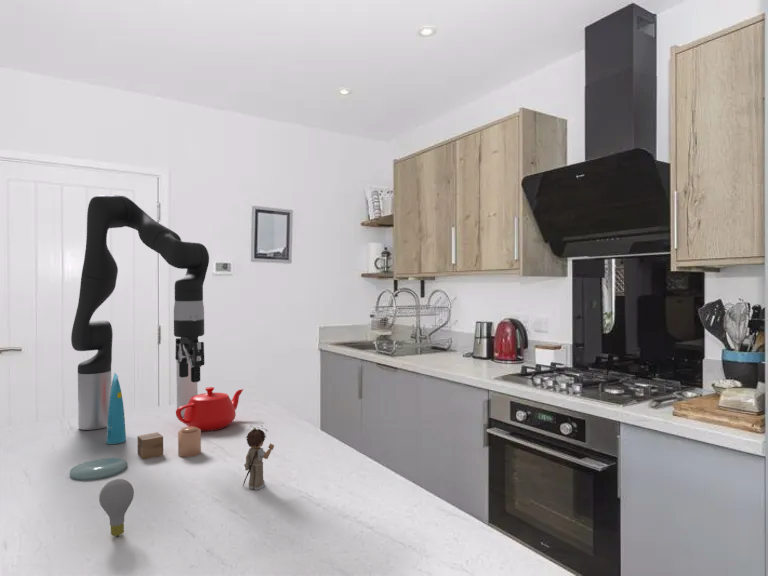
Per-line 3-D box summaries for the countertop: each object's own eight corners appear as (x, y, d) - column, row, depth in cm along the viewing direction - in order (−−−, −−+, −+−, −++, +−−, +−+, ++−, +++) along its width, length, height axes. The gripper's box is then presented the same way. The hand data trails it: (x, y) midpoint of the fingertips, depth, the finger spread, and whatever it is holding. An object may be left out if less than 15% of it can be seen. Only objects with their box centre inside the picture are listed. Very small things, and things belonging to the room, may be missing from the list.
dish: (65, 469, 124) (65, 465, 124) (120, 458, 132) (119, 454, 132) (75, 484, 115) (75, 480, 115) (133, 471, 123) (133, 467, 123)
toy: (275, 483, 115) (275, 417, 114) (262, 492, 109) (261, 423, 109) (251, 480, 117) (251, 414, 117) (237, 489, 111) (236, 421, 111)
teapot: (192, 440, 147) (192, 397, 147) (161, 431, 156) (161, 391, 156) (259, 420, 168) (259, 383, 168) (228, 413, 177) (228, 378, 176)
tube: (128, 443, 144) (128, 375, 144) (109, 446, 141) (108, 377, 141) (122, 437, 150) (121, 371, 150) (103, 440, 147) (103, 373, 147)
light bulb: (108, 529, 94) (107, 474, 94) (139, 527, 94) (138, 473, 94) (93, 544, 88) (93, 486, 88) (126, 542, 89) (126, 485, 89)
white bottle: (172, 416, 173) (172, 342, 173) (183, 411, 179) (183, 340, 179) (191, 417, 172) (190, 342, 171) (201, 412, 178) (200, 340, 178)
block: (137, 454, 135) (137, 435, 135) (157, 450, 138) (157, 432, 138) (142, 459, 131) (142, 440, 131) (163, 455, 134) (163, 436, 134)
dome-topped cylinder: (175, 453, 136) (174, 428, 136) (196, 448, 139) (196, 424, 139) (182, 458, 131) (182, 433, 131) (204, 453, 135) (204, 428, 135)
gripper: (165, 317, 138) (165, 377, 138) (184, 320, 127) (184, 385, 127) (193, 316, 143) (193, 374, 143) (213, 318, 132) (214, 381, 132)
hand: (189, 379), depth 135 cm, fingers open, 8 cm apart
